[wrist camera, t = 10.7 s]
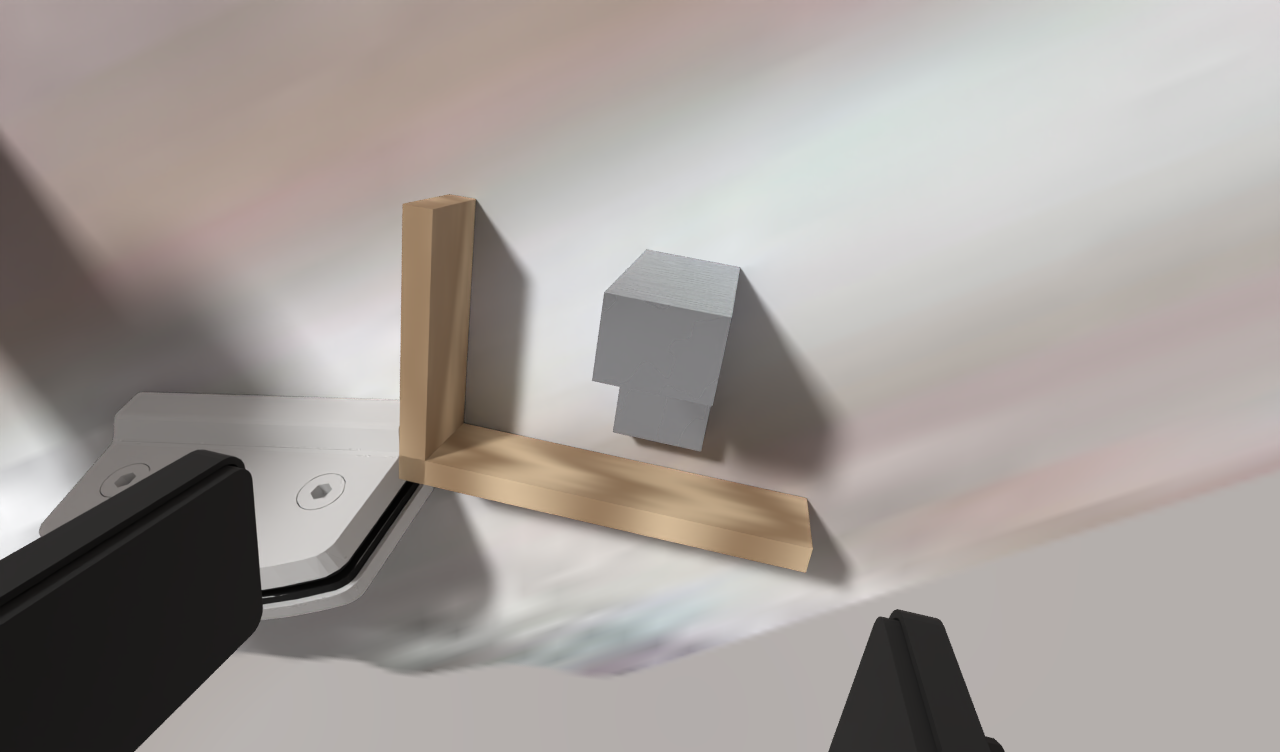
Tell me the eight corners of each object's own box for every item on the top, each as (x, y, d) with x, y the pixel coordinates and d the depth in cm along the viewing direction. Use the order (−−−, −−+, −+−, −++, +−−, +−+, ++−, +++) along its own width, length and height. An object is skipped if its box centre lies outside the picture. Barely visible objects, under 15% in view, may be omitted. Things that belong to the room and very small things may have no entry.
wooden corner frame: (439, 439, 33) (398, 478, 29) (449, 194, 28) (402, 203, 25) (800, 519, 31) (805, 572, 27) (871, 270, 27) (888, 292, 23)
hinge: (422, 400, 32) (316, 578, 25) (449, 466, 35) (362, 642, 28) (132, 391, 35) (-41, 548, 28) (180, 452, 38) (35, 609, 31)
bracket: (646, 249, 28) (604, 292, 20) (740, 267, 27) (731, 317, 20) (619, 418, 31) (574, 509, 23) (703, 436, 30) (684, 535, 23)
